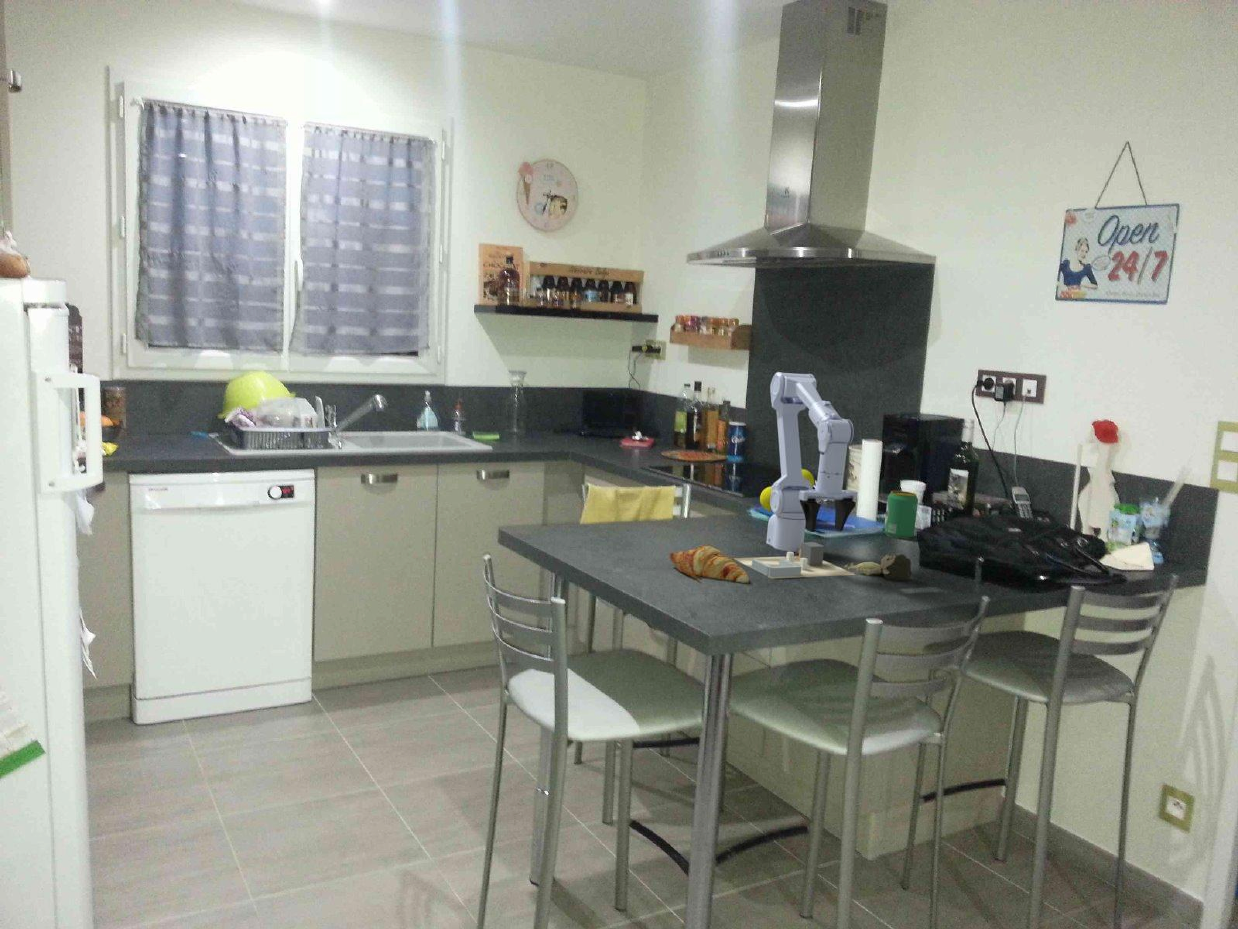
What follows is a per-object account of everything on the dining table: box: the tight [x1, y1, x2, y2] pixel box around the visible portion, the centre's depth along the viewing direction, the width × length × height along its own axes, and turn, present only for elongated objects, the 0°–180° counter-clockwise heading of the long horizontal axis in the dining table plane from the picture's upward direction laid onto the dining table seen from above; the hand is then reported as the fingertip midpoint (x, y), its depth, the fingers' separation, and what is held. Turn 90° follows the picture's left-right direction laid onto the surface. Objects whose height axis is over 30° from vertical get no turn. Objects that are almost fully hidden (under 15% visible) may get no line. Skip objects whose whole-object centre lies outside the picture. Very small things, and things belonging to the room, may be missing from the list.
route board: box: [732, 555, 857, 579], centre depth 230 cm, size 17×22×1 cm
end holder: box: [751, 558, 801, 578], centre depth 224 cm, size 8×8×2 cm
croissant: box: [669, 544, 750, 584], centre depth 220 cm, size 21×10×8 cm, turn 49°
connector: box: [795, 541, 825, 566], centre depth 236 cm, size 8×4×4 cm, turn 23°
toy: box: [759, 468, 815, 513], centre depth 286 cm, size 16×17×15 cm
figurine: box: [844, 553, 912, 582], centre depth 229 cm, size 8×6×15 cm
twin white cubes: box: [785, 551, 808, 570], centre depth 231 cm, size 7×1×2 cm, turn 23°
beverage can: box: [883, 490, 919, 540], centre depth 277 cm, size 8×8×12 cm
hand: (824, 530), depth 231 cm, fingers open, 7 cm apart
